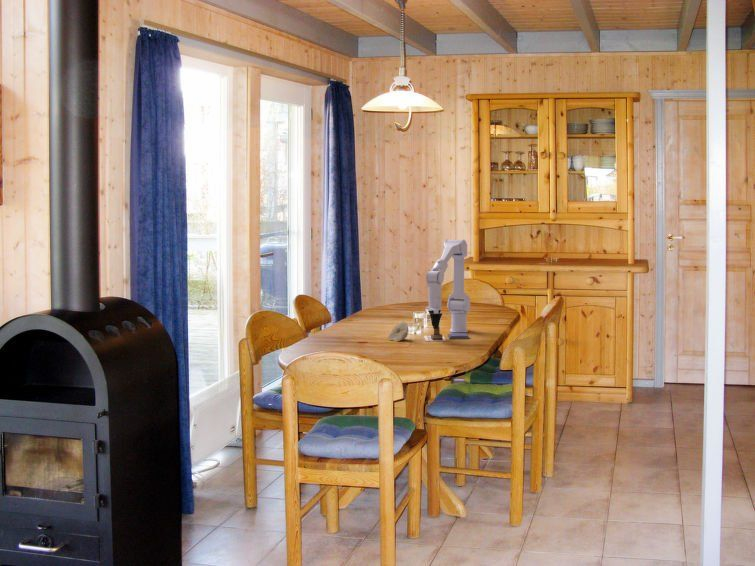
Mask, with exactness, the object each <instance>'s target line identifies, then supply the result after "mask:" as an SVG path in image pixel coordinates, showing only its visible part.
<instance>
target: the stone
mask: <svg viewBox="0 0 755 566" xmlns="http://www.w3.org/2000/svg"><path fill="white" fill-rule="evenodd" d="M408 334H409V325H408V323H407V321H401V322H400V323H397V324H395V325H393V328H392V329H391V331H390V333H389V334H388V336H387V337H388V340H389V341H393V342H401V341H404V340H405V339H407V337H408Z"/></svg>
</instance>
